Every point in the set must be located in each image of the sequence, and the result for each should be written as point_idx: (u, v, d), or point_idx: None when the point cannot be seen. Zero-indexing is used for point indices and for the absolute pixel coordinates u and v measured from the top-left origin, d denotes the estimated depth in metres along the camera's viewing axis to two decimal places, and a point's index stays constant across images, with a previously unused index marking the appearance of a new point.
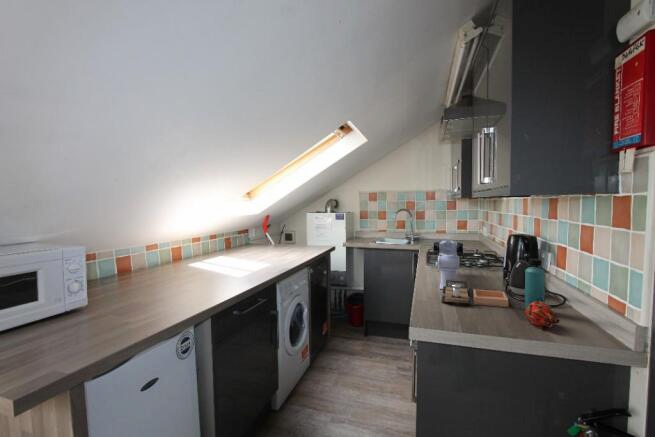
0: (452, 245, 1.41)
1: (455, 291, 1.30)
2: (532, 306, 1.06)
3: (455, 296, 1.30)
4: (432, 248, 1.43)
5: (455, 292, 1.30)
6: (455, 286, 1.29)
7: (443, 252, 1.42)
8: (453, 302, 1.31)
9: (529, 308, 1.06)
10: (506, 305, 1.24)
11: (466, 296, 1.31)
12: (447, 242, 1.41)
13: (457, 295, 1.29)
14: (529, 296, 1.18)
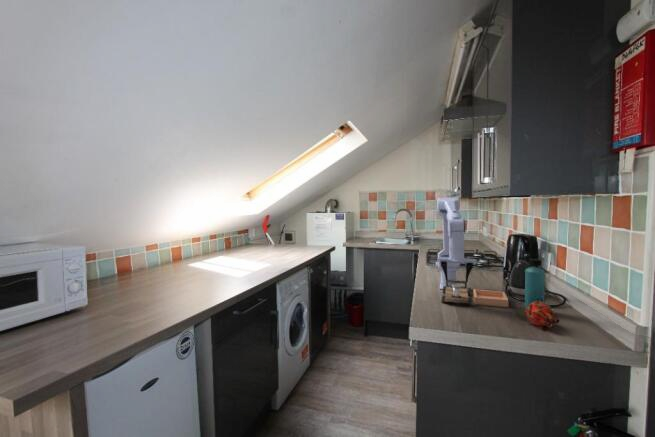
0: None
1: (455, 291, 1.30)
2: (532, 306, 1.06)
3: (455, 296, 1.30)
4: None
5: (455, 292, 1.30)
6: (455, 286, 1.29)
7: None
8: (453, 302, 1.31)
9: (529, 308, 1.06)
10: (506, 305, 1.24)
11: (466, 296, 1.31)
12: (455, 261, 1.27)
13: (457, 295, 1.29)
14: (529, 296, 1.18)
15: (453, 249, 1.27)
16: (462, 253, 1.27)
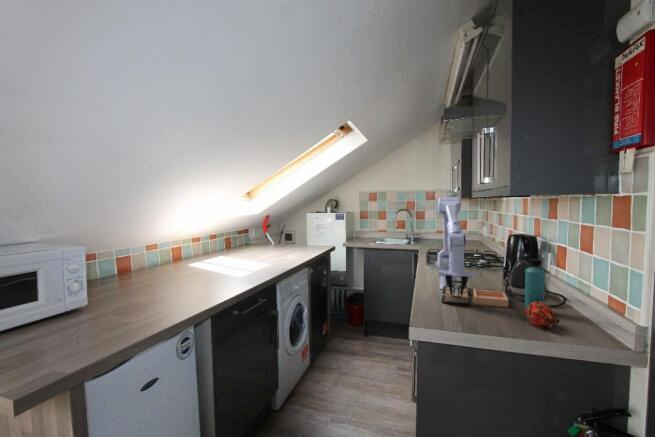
0: None
1: (455, 291, 1.30)
2: (532, 306, 1.06)
3: (455, 296, 1.30)
4: None
5: (455, 292, 1.30)
6: (455, 286, 1.29)
7: None
8: (453, 302, 1.31)
9: (529, 308, 1.06)
10: (506, 305, 1.24)
11: (466, 296, 1.31)
12: (455, 275, 1.28)
13: (457, 295, 1.29)
14: (529, 296, 1.18)
15: (453, 263, 1.28)
16: (462, 267, 1.27)
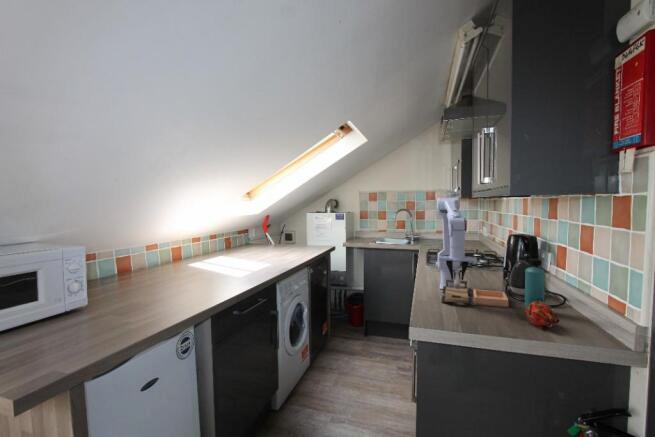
0: None
1: (456, 276, 1.29)
2: (532, 306, 1.06)
3: (456, 281, 1.29)
4: None
5: (456, 277, 1.29)
6: (456, 271, 1.29)
7: None
8: (454, 287, 1.30)
9: (529, 308, 1.06)
10: (506, 305, 1.24)
11: (466, 296, 1.31)
12: None
13: (458, 280, 1.29)
14: (529, 296, 1.18)
15: (454, 248, 1.27)
16: (463, 252, 1.27)
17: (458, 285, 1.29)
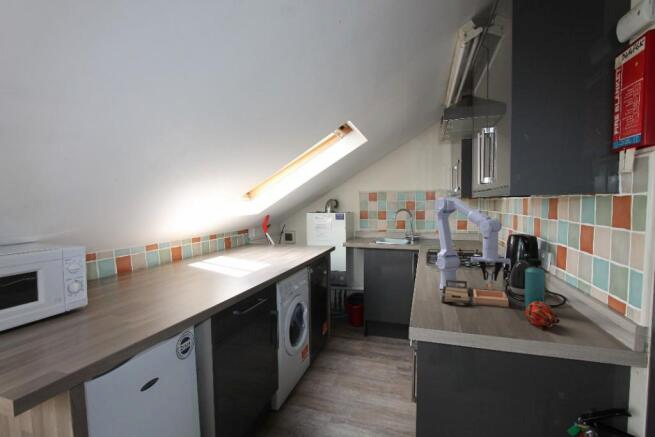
0: None
1: (488, 277, 1.30)
2: (532, 306, 1.06)
3: (488, 282, 1.30)
4: (472, 261, 1.33)
5: (488, 278, 1.30)
6: (489, 272, 1.29)
7: None
8: None
9: (529, 308, 1.06)
10: (506, 305, 1.24)
11: (466, 296, 1.31)
12: (490, 261, 1.28)
13: (490, 281, 1.30)
14: (529, 296, 1.18)
15: (487, 249, 1.28)
16: (496, 253, 1.28)
17: (490, 286, 1.30)
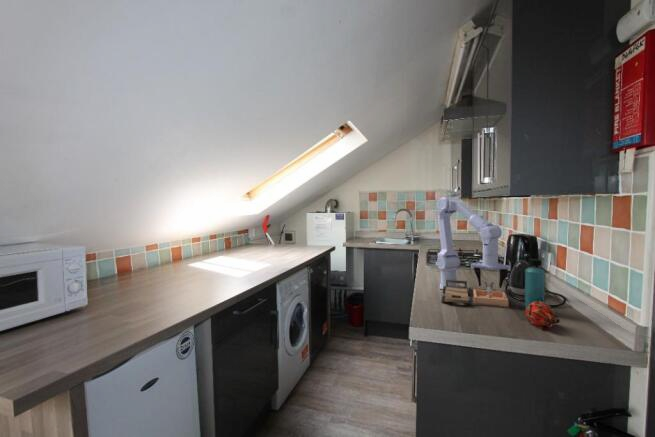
0: None
1: (488, 288, 1.30)
2: (532, 306, 1.06)
3: (488, 293, 1.30)
4: None
5: (488, 289, 1.30)
6: (488, 283, 1.30)
7: None
8: None
9: (529, 308, 1.06)
10: (506, 305, 1.24)
11: (466, 296, 1.31)
12: (490, 267, 1.28)
13: (490, 292, 1.30)
14: (529, 296, 1.18)
15: (487, 255, 1.28)
16: (496, 259, 1.28)
17: (490, 297, 1.30)
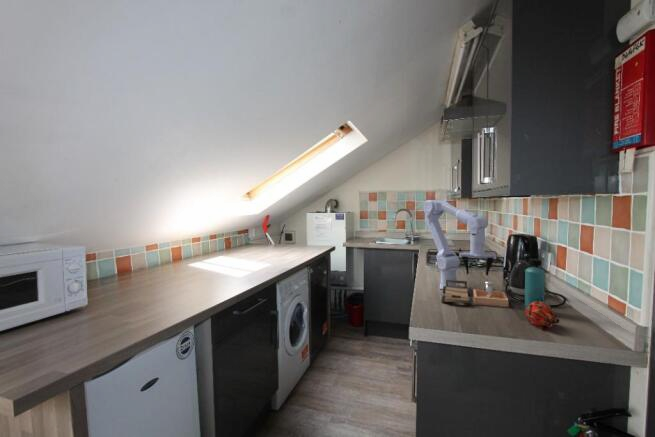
0: None
1: (488, 288, 1.30)
2: (532, 306, 1.06)
3: (488, 293, 1.30)
4: None
5: (488, 289, 1.30)
6: (488, 283, 1.30)
7: None
8: None
9: (529, 308, 1.06)
10: (506, 305, 1.24)
11: (466, 296, 1.31)
12: None
13: (490, 292, 1.30)
14: (529, 296, 1.18)
15: (474, 245, 1.35)
16: (483, 248, 1.35)
17: (490, 297, 1.30)
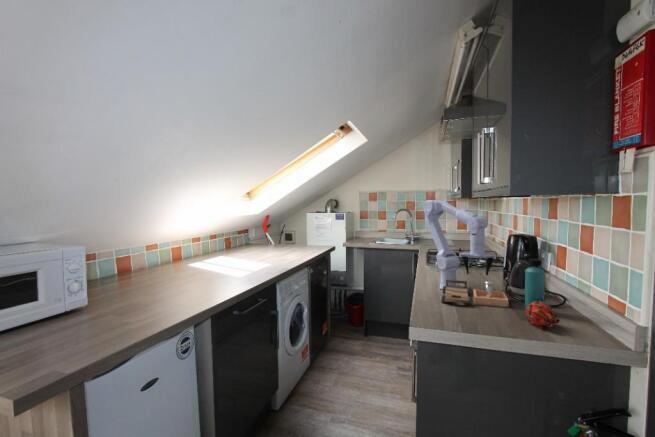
0: None
1: (488, 288, 1.30)
2: (532, 306, 1.06)
3: (488, 293, 1.30)
4: (460, 256, 1.40)
5: (488, 289, 1.30)
6: (488, 283, 1.29)
7: None
8: None
9: (529, 308, 1.06)
10: (506, 305, 1.24)
11: (466, 296, 1.31)
12: None
13: (490, 292, 1.30)
14: (529, 296, 1.18)
15: (474, 244, 1.35)
16: (483, 248, 1.35)
17: (490, 297, 1.30)
